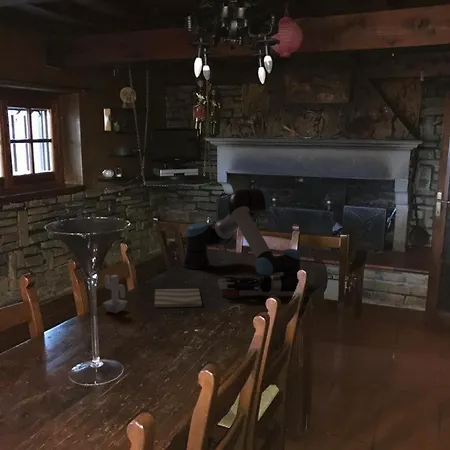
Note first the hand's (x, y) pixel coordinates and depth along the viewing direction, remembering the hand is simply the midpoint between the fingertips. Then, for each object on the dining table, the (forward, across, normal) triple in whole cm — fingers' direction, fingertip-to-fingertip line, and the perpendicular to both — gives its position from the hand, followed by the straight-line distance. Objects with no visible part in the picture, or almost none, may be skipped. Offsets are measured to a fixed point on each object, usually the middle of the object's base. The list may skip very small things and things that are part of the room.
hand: (219, 284), depth 226 cm
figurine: (+45, -15, -6) cm, 47 cm away
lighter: (-5, 0, -6) cm, 8 cm away
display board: (+19, -2, -6) cm, 20 cm away
